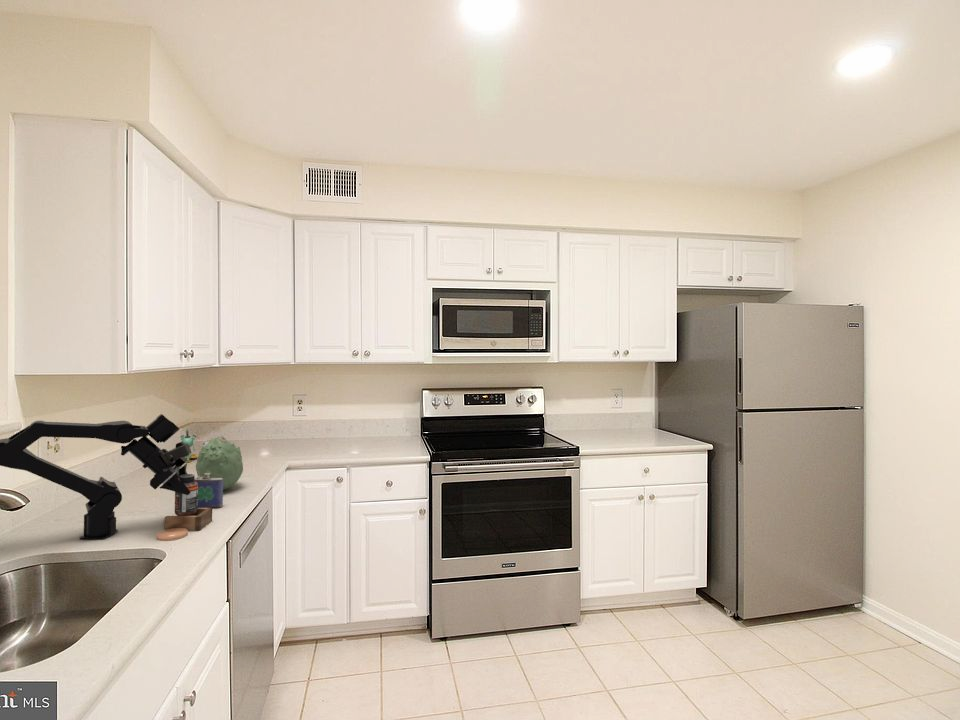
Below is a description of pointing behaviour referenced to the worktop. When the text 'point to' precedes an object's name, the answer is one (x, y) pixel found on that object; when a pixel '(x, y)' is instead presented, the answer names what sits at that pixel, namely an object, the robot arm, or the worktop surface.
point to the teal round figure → (189, 442)
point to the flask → (210, 492)
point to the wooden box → (190, 520)
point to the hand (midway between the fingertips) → (191, 490)
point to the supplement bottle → (187, 497)
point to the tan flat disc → (171, 534)
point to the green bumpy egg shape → (220, 461)
